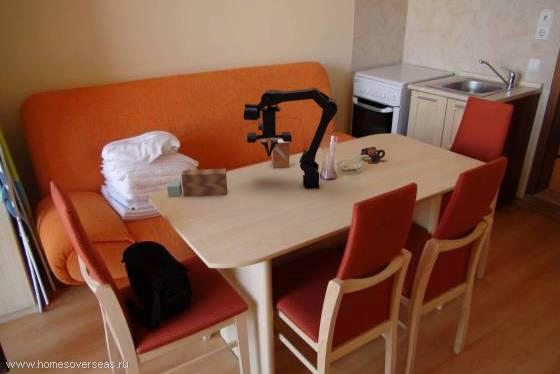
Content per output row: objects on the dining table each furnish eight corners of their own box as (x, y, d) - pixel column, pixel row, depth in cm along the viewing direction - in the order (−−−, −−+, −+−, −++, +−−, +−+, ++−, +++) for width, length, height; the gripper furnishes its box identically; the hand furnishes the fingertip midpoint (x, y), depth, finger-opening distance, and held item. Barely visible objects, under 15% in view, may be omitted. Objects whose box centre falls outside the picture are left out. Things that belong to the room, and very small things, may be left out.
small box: (273, 168, 209) (272, 142, 203) (271, 163, 215) (271, 138, 209) (289, 167, 210) (289, 141, 204) (287, 162, 215) (287, 137, 210)
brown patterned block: (227, 190, 188) (225, 168, 183) (226, 195, 183) (225, 173, 179) (185, 191, 187) (182, 170, 182) (183, 196, 182) (181, 175, 178)
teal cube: (182, 192, 186) (181, 181, 184) (180, 197, 182) (179, 186, 180) (170, 192, 186) (169, 181, 184) (168, 197, 182) (167, 186, 179)
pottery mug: (362, 165, 212) (359, 149, 213) (363, 167, 222) (360, 151, 222) (387, 160, 210) (383, 143, 210) (386, 162, 219) (383, 146, 220)
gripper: (289, 115, 188) (288, 149, 195) (246, 116, 187) (247, 150, 193) (292, 122, 178) (291, 158, 185) (246, 123, 177) (247, 159, 183)
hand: (269, 156), depth 187 cm, fingers closed
